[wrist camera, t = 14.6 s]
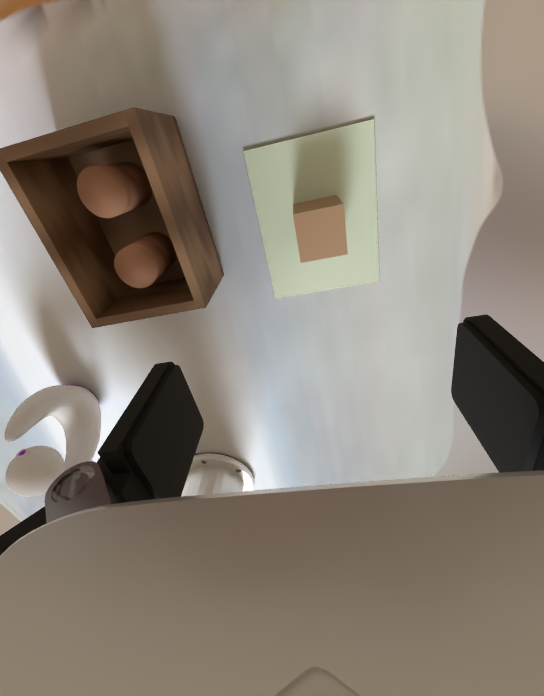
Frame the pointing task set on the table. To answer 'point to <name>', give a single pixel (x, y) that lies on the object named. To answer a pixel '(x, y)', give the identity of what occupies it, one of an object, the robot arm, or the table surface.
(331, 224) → the lid
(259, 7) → the table surface
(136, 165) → the box
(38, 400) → the toy
